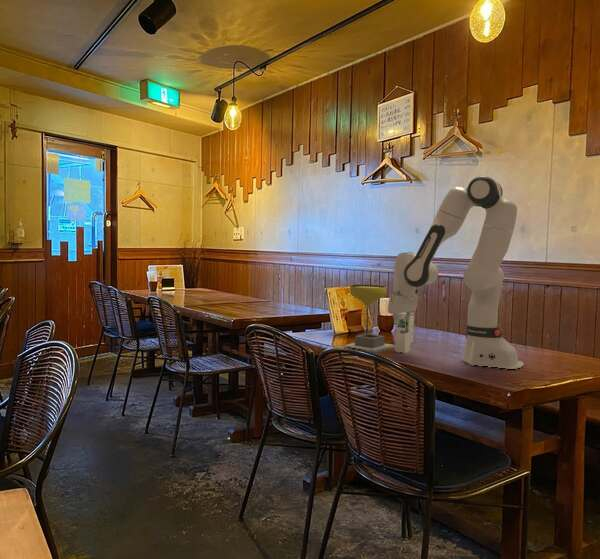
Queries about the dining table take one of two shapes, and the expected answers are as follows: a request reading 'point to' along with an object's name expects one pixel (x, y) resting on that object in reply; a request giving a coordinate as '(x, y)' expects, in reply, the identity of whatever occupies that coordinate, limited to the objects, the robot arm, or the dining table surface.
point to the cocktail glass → (367, 296)
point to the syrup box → (406, 325)
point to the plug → (402, 342)
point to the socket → (370, 343)
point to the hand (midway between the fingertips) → (401, 322)
